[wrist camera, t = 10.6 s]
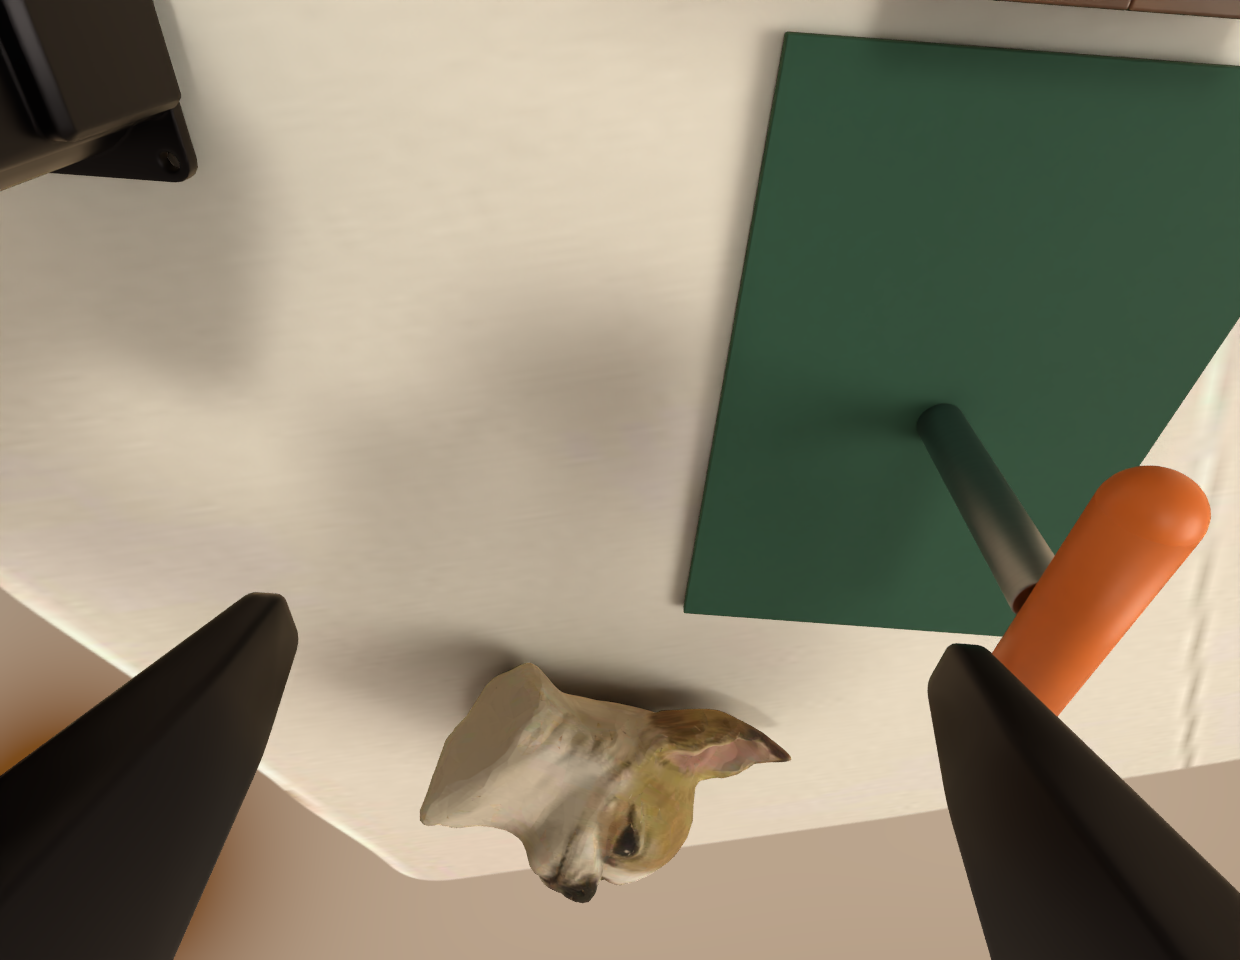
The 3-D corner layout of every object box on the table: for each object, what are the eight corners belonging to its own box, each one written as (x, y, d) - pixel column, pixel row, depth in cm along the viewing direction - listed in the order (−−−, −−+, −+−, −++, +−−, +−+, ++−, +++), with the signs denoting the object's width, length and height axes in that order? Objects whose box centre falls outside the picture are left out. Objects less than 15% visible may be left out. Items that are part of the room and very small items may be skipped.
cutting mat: (683, 606, 28) (683, 613, 28) (784, 31, 16) (787, 33, 15) (1019, 630, 28) (1023, 638, 28) (1386, 76, 16) (1401, 80, 15)
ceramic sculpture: (464, 809, 21) (830, 894, 26) (500, 593, 28) (787, 693, 33) (365, 912, 27) (678, 965, 32) (414, 714, 34) (668, 783, 39)
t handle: (870, 522, 24) (961, 769, 17) (962, 287, 19) (1153, 504, 12) (920, 526, 24) (1032, 775, 17) (1026, 291, 19) (1258, 512, 12)
